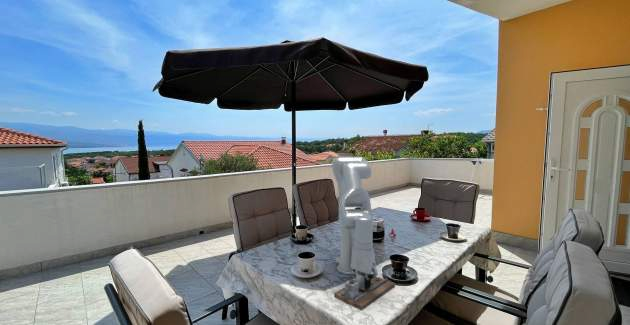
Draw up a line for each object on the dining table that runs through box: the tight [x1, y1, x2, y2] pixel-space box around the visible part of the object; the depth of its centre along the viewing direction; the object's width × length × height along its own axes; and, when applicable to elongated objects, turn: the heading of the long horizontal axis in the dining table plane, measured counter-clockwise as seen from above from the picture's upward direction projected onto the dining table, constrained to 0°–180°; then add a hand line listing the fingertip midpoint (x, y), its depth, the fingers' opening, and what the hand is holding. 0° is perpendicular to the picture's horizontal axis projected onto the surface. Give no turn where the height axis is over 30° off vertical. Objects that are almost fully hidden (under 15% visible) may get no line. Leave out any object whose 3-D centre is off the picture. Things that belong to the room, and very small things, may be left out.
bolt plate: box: [333, 275, 396, 311], centre depth 122 cm, size 14×26×8 cm, turn 135°
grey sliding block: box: [355, 272, 366, 290], centre depth 121 cm, size 4×5×8 cm
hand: (363, 285), depth 121 cm, fingers closed on grey sliding block, 4 cm apart
